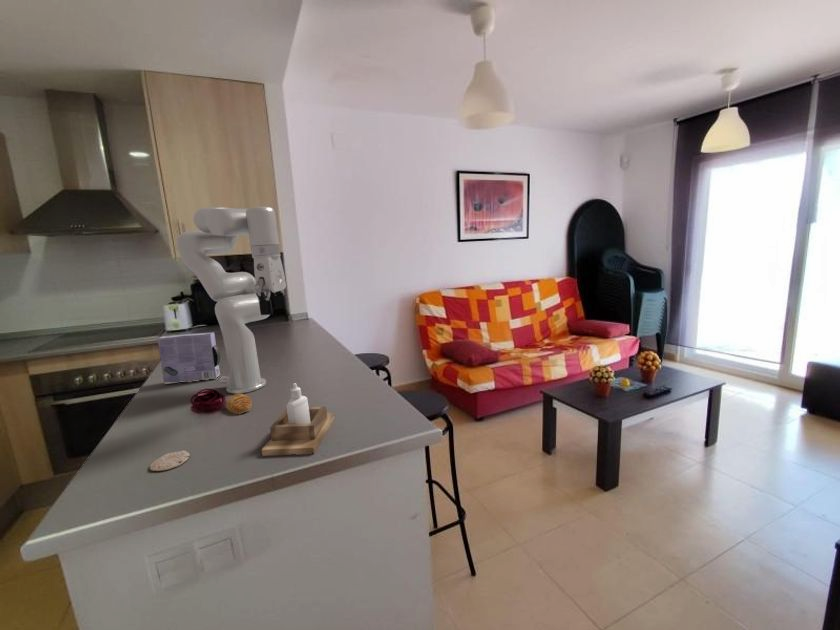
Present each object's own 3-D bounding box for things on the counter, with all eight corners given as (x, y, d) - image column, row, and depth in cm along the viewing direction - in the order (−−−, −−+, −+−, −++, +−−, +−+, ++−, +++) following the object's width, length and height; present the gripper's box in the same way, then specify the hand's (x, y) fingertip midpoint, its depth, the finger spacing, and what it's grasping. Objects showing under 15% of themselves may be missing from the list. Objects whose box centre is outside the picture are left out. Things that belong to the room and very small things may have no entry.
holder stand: (262, 455, 87) (259, 435, 86) (291, 419, 105) (289, 402, 104) (314, 453, 87) (311, 433, 86) (334, 417, 104) (332, 400, 103)
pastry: (257, 410, 113) (255, 398, 112) (232, 418, 109) (230, 406, 108) (248, 401, 120) (246, 390, 120) (225, 408, 116) (222, 396, 116)
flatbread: (175, 472, 83) (174, 468, 83) (141, 473, 84) (140, 469, 84) (197, 452, 91) (196, 448, 91) (166, 453, 92) (165, 450, 92)
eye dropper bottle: (314, 428, 96) (309, 382, 93) (292, 436, 92) (285, 389, 90) (308, 422, 99) (302, 378, 97) (286, 429, 96) (280, 384, 94)
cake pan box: (224, 375, 148) (216, 330, 145) (219, 379, 143) (211, 333, 140) (170, 381, 145) (161, 335, 142) (163, 385, 140) (154, 339, 137)
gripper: (265, 252, 100) (274, 316, 103) (290, 250, 117) (297, 305, 120) (237, 254, 100) (247, 318, 104) (266, 251, 117) (273, 307, 121)
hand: (274, 311), depth 112 cm, fingers open, 9 cm apart
